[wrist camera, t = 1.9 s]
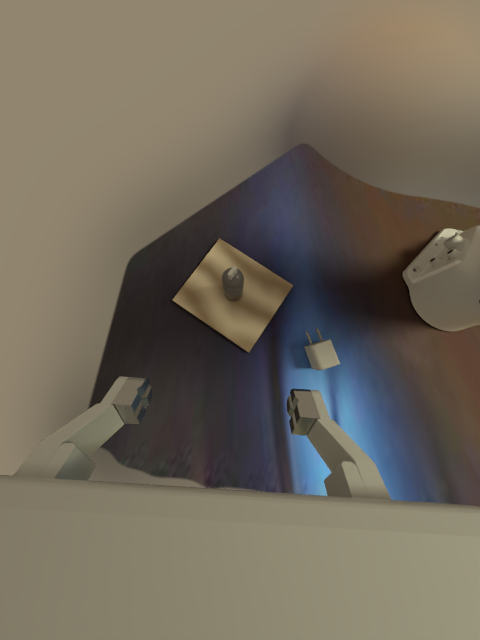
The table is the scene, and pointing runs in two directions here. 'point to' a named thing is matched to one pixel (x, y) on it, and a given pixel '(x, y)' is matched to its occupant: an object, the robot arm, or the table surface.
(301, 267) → the table surface
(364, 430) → the table surface
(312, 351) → the usb wall charger
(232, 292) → the dark bottle
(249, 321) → the birch board
